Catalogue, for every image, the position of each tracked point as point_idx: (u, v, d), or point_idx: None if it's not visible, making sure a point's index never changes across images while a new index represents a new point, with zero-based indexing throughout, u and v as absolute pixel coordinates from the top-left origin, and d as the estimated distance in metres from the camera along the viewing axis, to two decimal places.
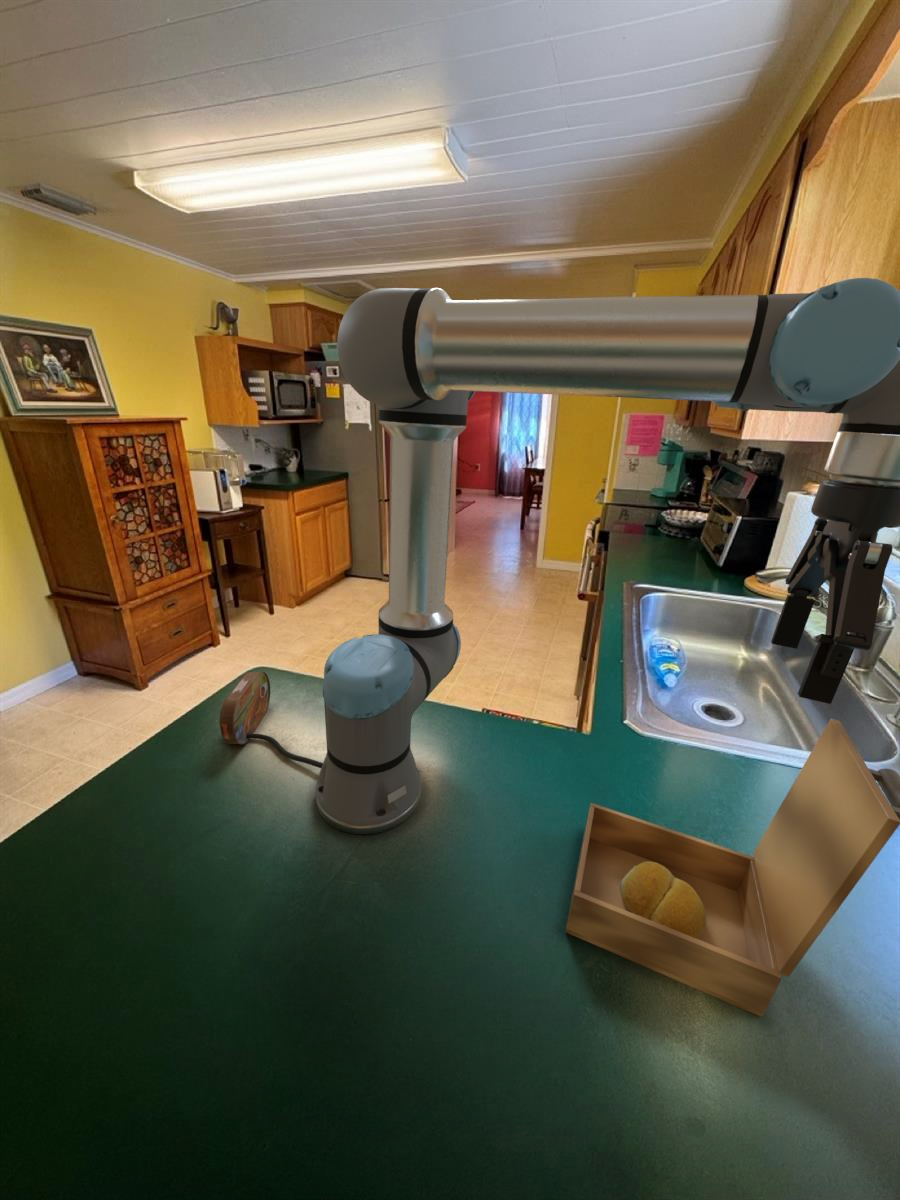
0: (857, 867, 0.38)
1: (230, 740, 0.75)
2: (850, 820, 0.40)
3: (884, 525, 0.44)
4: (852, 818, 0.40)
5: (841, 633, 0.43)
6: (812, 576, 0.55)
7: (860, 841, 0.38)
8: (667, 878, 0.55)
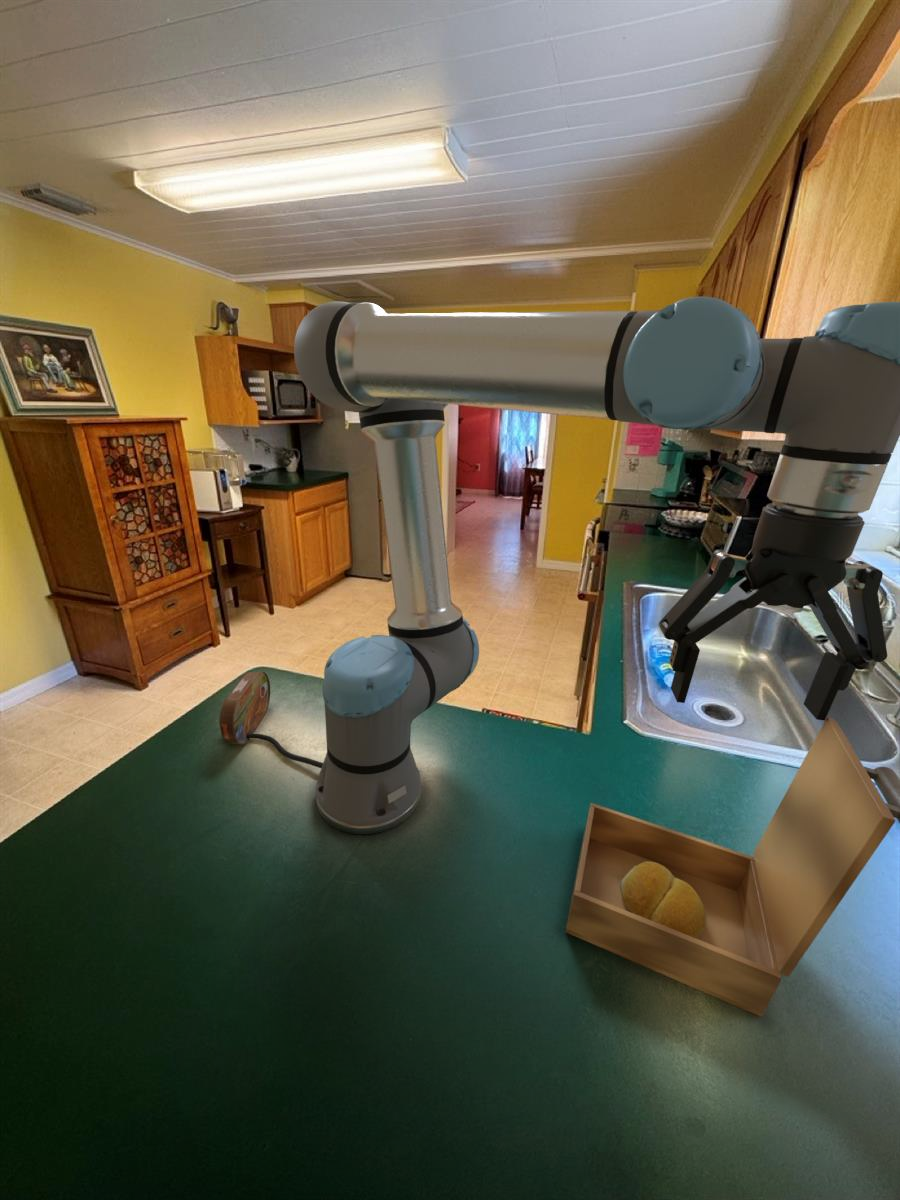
0: (853, 866, 0.38)
1: (230, 740, 0.75)
2: (846, 819, 0.40)
3: (764, 547, 0.43)
4: (848, 817, 0.40)
5: (663, 618, 0.49)
6: (823, 625, 0.46)
7: (856, 840, 0.38)
8: (667, 878, 0.55)
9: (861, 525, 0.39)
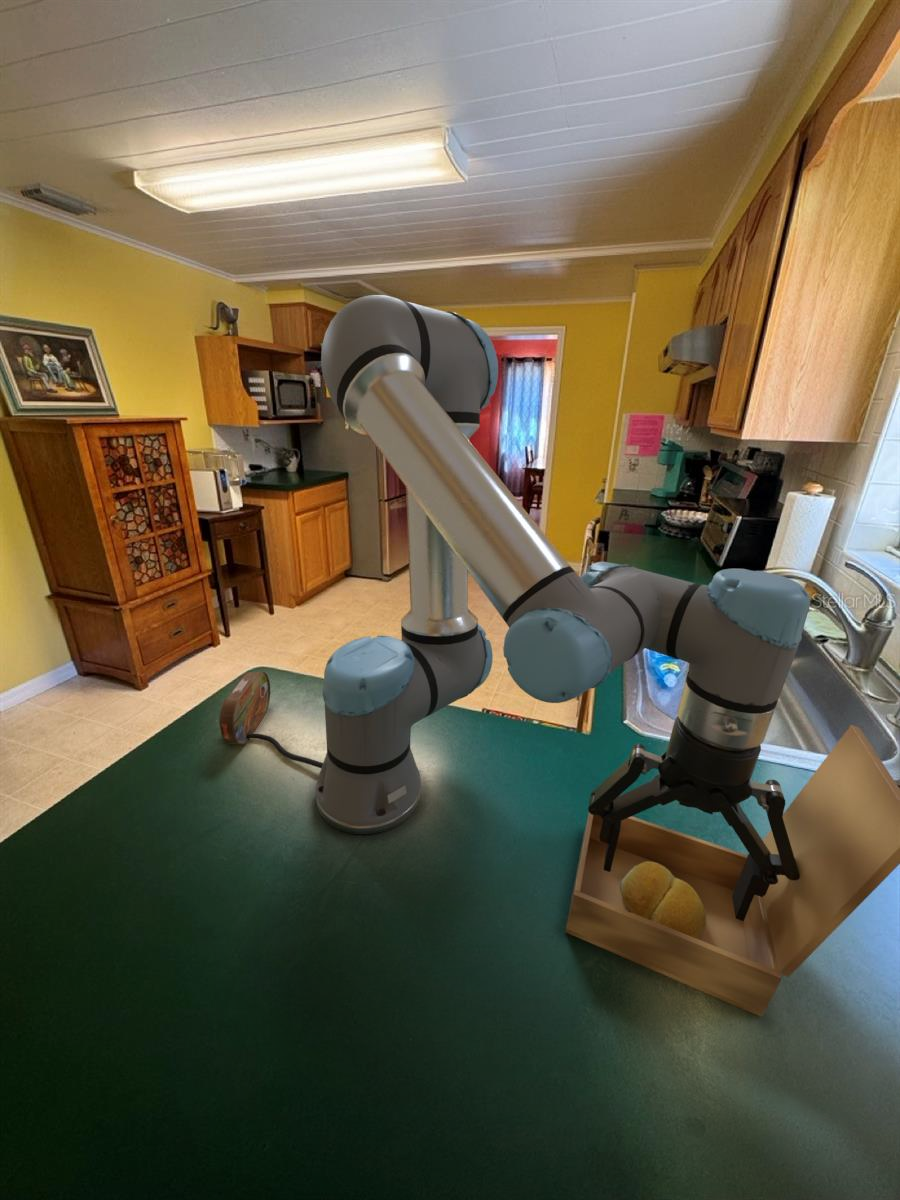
0: (876, 875, 0.37)
1: (230, 740, 0.75)
2: (870, 828, 0.40)
3: (670, 755, 0.47)
4: (873, 826, 0.39)
5: (594, 791, 0.55)
6: None
7: (881, 849, 0.38)
8: (667, 878, 0.55)
9: (750, 759, 0.43)
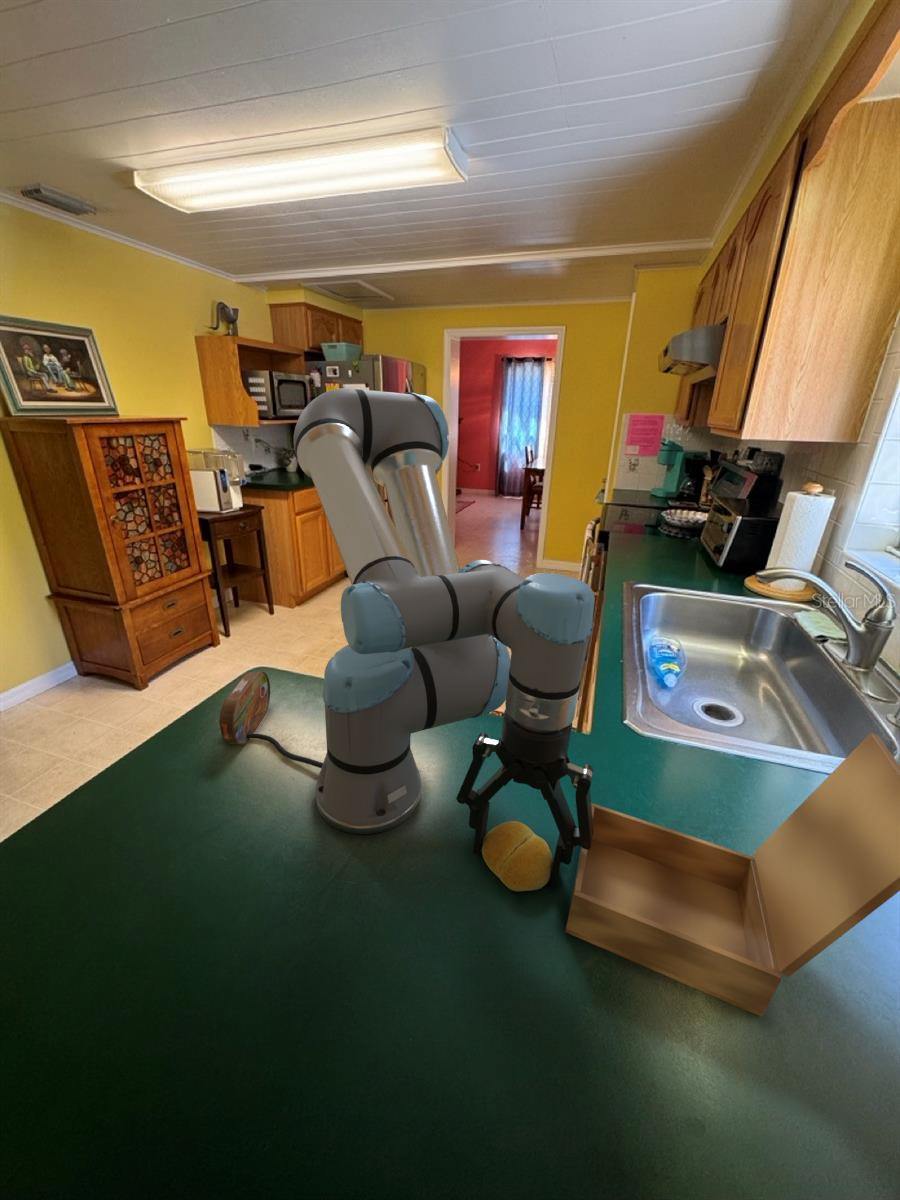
0: (895, 884, 0.37)
1: (230, 740, 0.75)
2: (890, 836, 0.39)
3: (501, 737, 0.53)
4: (893, 835, 0.39)
5: None
6: None
7: None
8: (523, 834, 0.60)
9: (555, 740, 0.49)
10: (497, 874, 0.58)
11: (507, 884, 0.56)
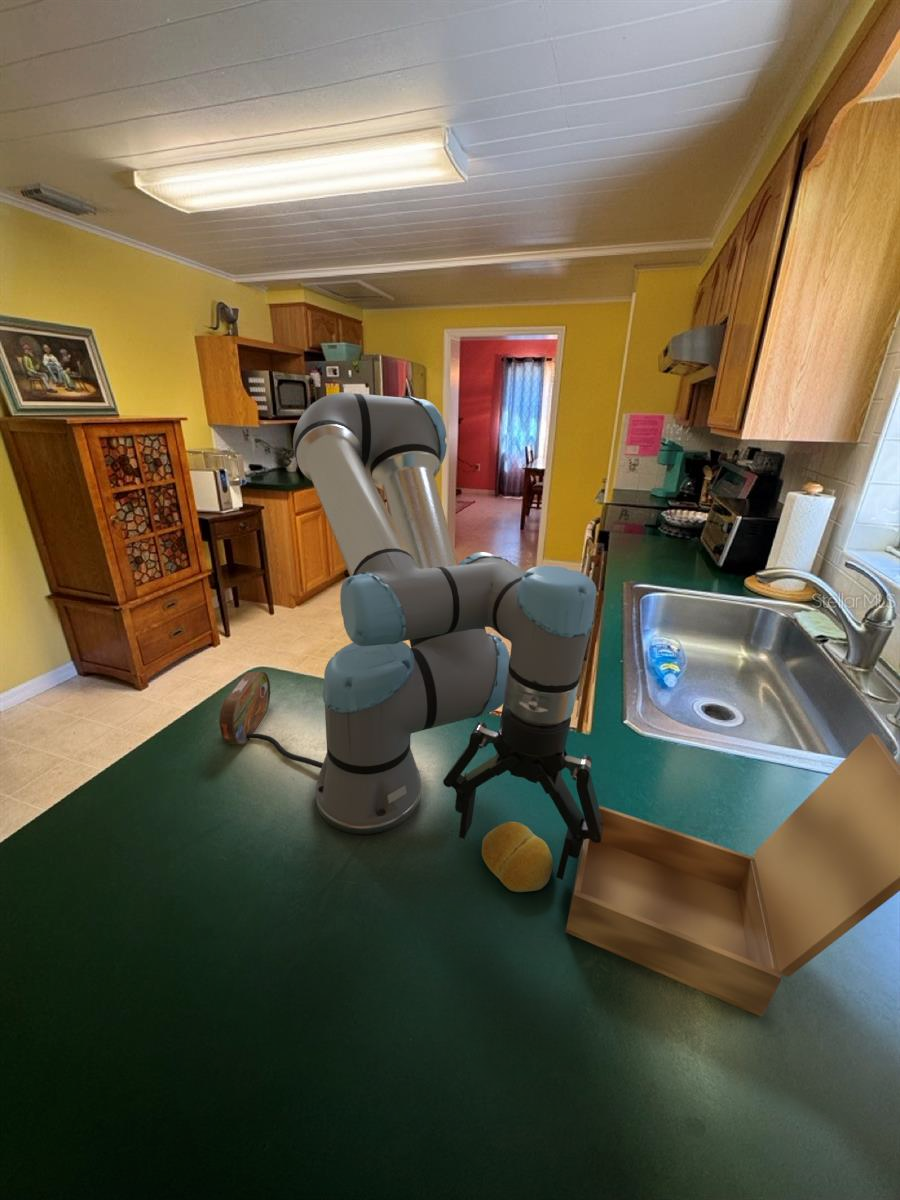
0: (895, 884, 0.37)
1: (230, 740, 0.75)
2: (890, 836, 0.39)
3: (499, 730, 0.53)
4: (893, 835, 0.39)
5: (452, 766, 0.61)
6: None
7: None
8: (523, 835, 0.60)
9: (554, 733, 0.49)
10: (497, 875, 0.58)
11: (507, 885, 0.56)
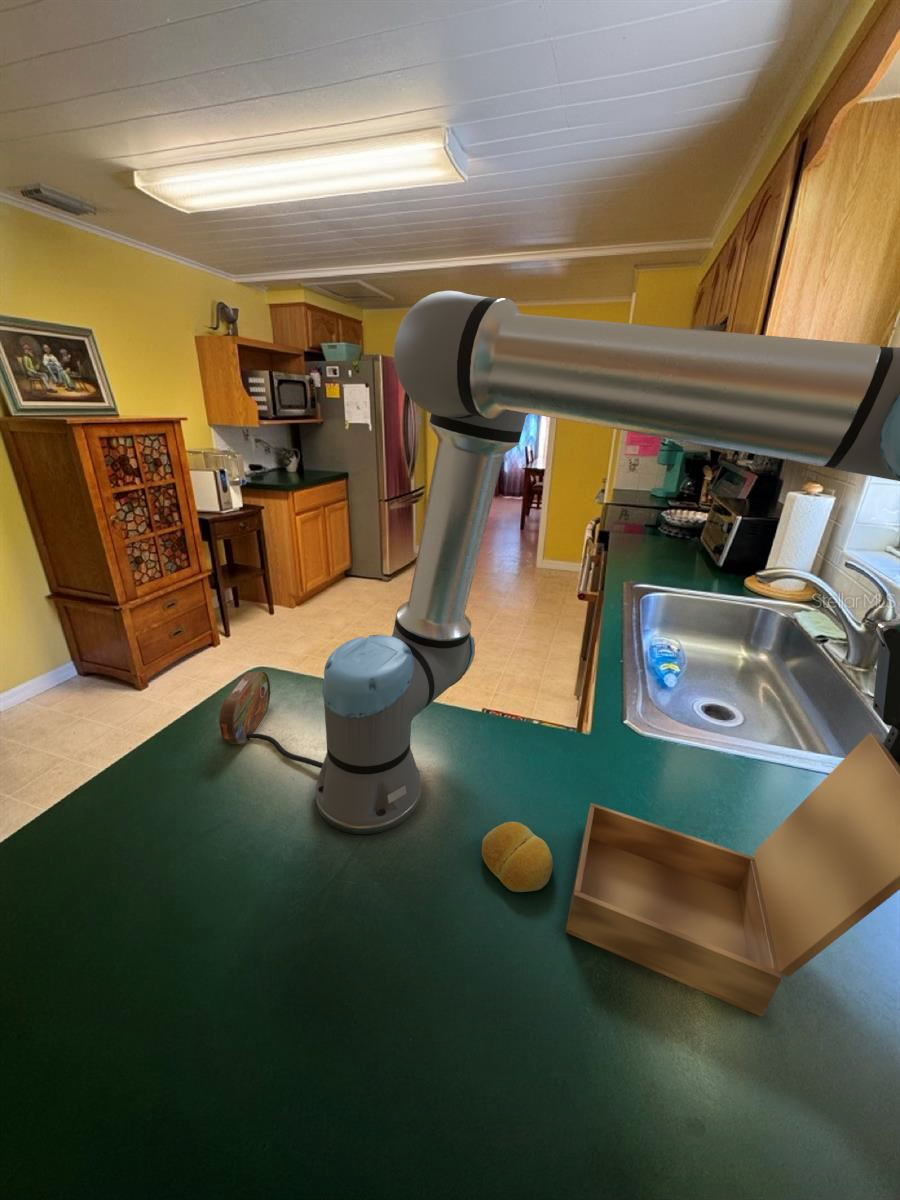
0: (894, 883, 0.37)
1: (230, 740, 0.75)
2: (889, 836, 0.39)
3: None
4: (892, 834, 0.39)
5: (874, 703, 0.46)
6: None
7: None
8: (523, 835, 0.60)
9: None
10: (497, 875, 0.58)
11: (507, 885, 0.56)
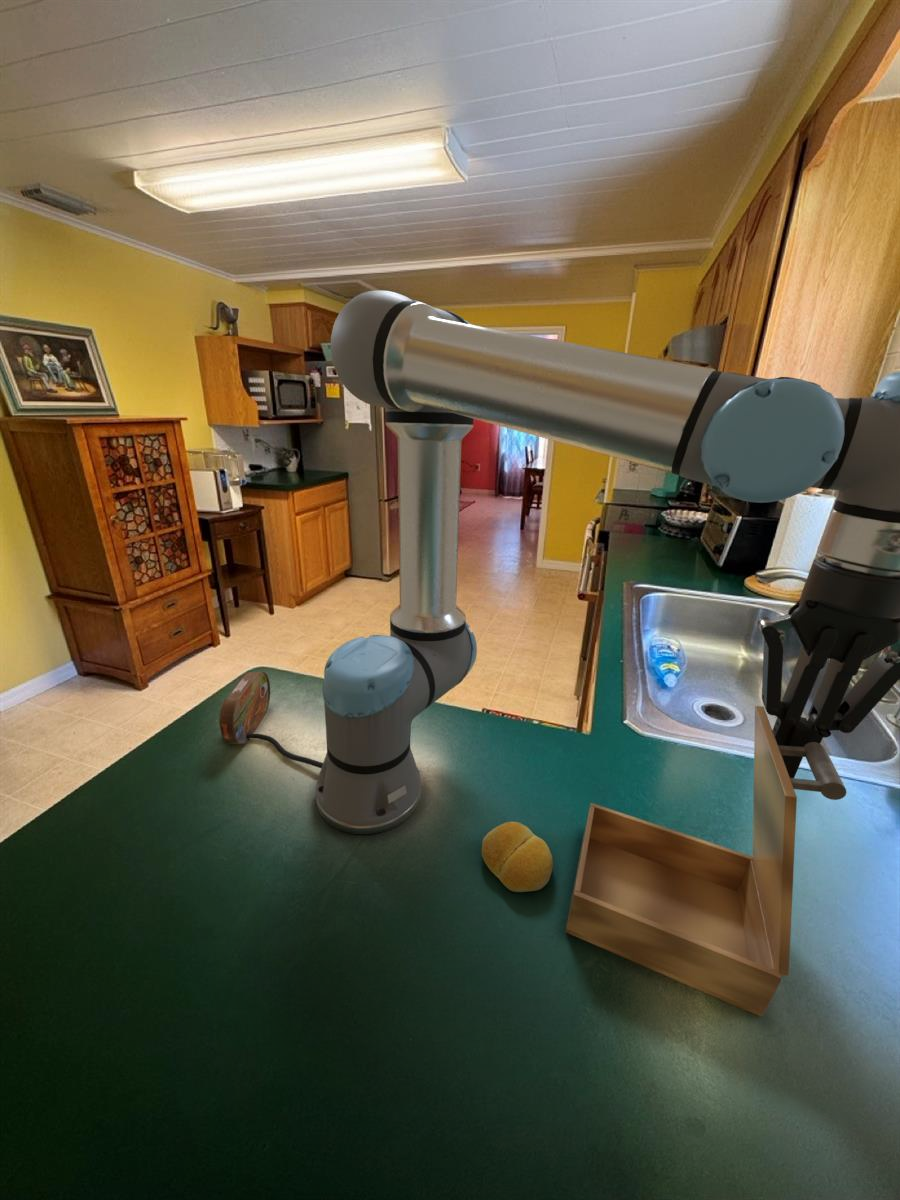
0: (785, 849, 0.40)
1: (230, 740, 0.75)
2: (775, 803, 0.42)
3: (809, 598, 0.43)
4: (775, 801, 0.42)
5: (762, 694, 0.50)
6: (824, 684, 0.46)
7: (781, 823, 0.40)
8: (523, 835, 0.60)
9: None
10: (497, 875, 0.58)
11: (507, 885, 0.56)
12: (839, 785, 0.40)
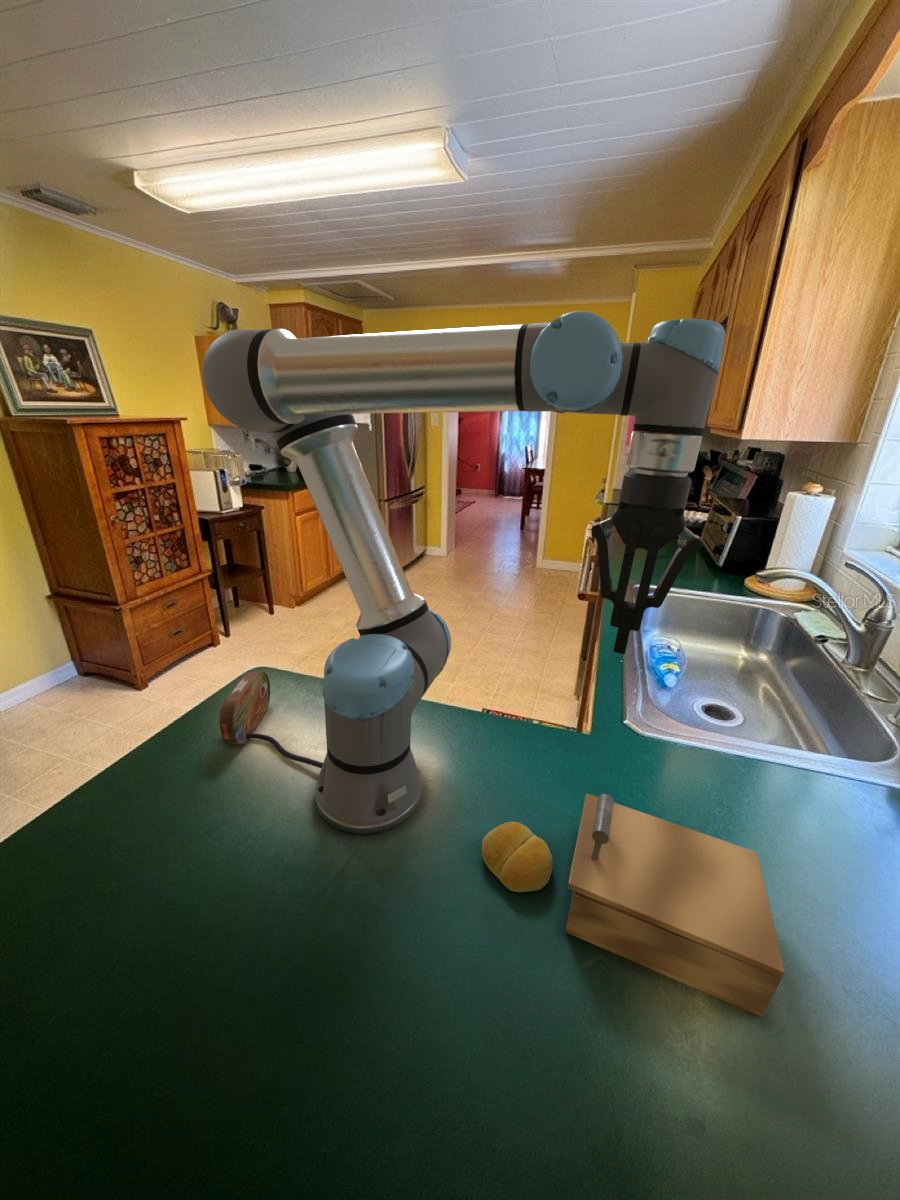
0: (619, 908, 0.48)
1: (230, 740, 0.75)
2: None
3: (620, 500, 0.57)
4: None
5: None
6: (642, 571, 0.60)
7: None
8: (523, 835, 0.60)
9: (681, 482, 0.53)
10: (497, 875, 0.58)
11: (507, 885, 0.56)
12: (595, 833, 0.52)
